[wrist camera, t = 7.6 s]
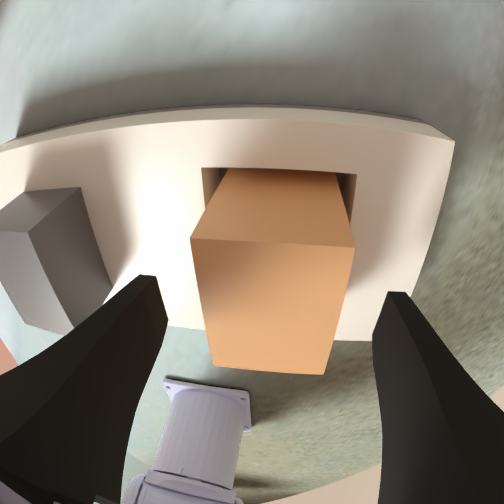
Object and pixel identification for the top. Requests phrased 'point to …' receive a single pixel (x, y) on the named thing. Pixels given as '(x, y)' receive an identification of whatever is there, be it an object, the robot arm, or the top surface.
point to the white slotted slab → (205, 202)
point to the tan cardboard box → (273, 268)
